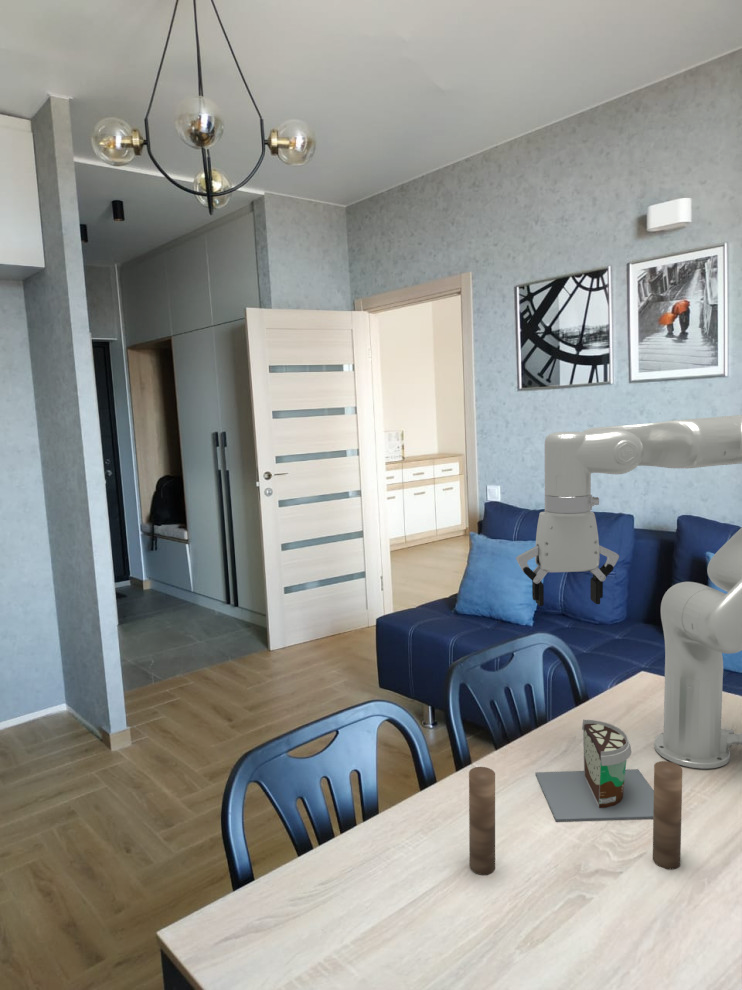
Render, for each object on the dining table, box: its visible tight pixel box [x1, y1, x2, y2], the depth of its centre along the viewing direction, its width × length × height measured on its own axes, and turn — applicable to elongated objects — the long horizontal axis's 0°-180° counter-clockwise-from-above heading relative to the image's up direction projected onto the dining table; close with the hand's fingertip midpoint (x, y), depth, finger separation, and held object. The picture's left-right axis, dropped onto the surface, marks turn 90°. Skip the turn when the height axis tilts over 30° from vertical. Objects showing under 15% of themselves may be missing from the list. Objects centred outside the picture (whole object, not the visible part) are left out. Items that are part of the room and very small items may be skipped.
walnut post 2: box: [652, 760, 683, 870], centre depth 98 cm, size 4×4×14 cm
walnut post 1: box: [468, 766, 496, 876], centre depth 98 cm, size 4×4×14 cm
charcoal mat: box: [535, 768, 654, 823], centre depth 115 cm, size 18×14×1 cm
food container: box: [581, 719, 632, 808], centre depth 115 cm, size 12×6×10 cm, turn 177°
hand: (567, 603), depth 120 cm, fingers open, 9 cm apart
